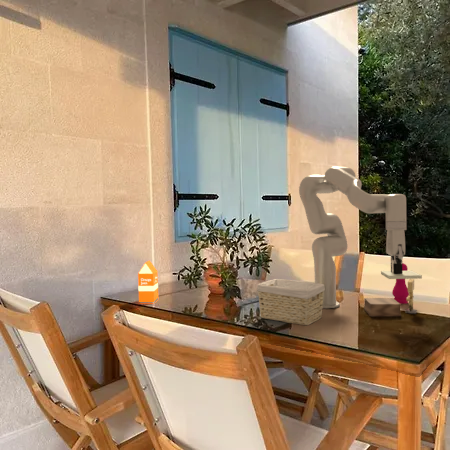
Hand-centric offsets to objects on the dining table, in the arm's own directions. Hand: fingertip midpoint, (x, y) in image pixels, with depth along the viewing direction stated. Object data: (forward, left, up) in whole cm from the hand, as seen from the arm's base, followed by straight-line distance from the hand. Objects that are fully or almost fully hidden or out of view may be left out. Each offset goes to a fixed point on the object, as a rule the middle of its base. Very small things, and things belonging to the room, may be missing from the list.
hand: (396, 272), depth 180 cm
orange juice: (-109, +38, -20) cm, 117 cm away
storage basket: (-41, +5, -20) cm, 46 cm away
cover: (+2, 0, -1) cm, 2 cm away
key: (+9, +14, -18) cm, 25 cm away
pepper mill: (+11, +34, -20) cm, 41 cm away
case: (-2, +15, -20) cm, 25 cm away
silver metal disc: (+10, +15, -20) cm, 27 cm away
